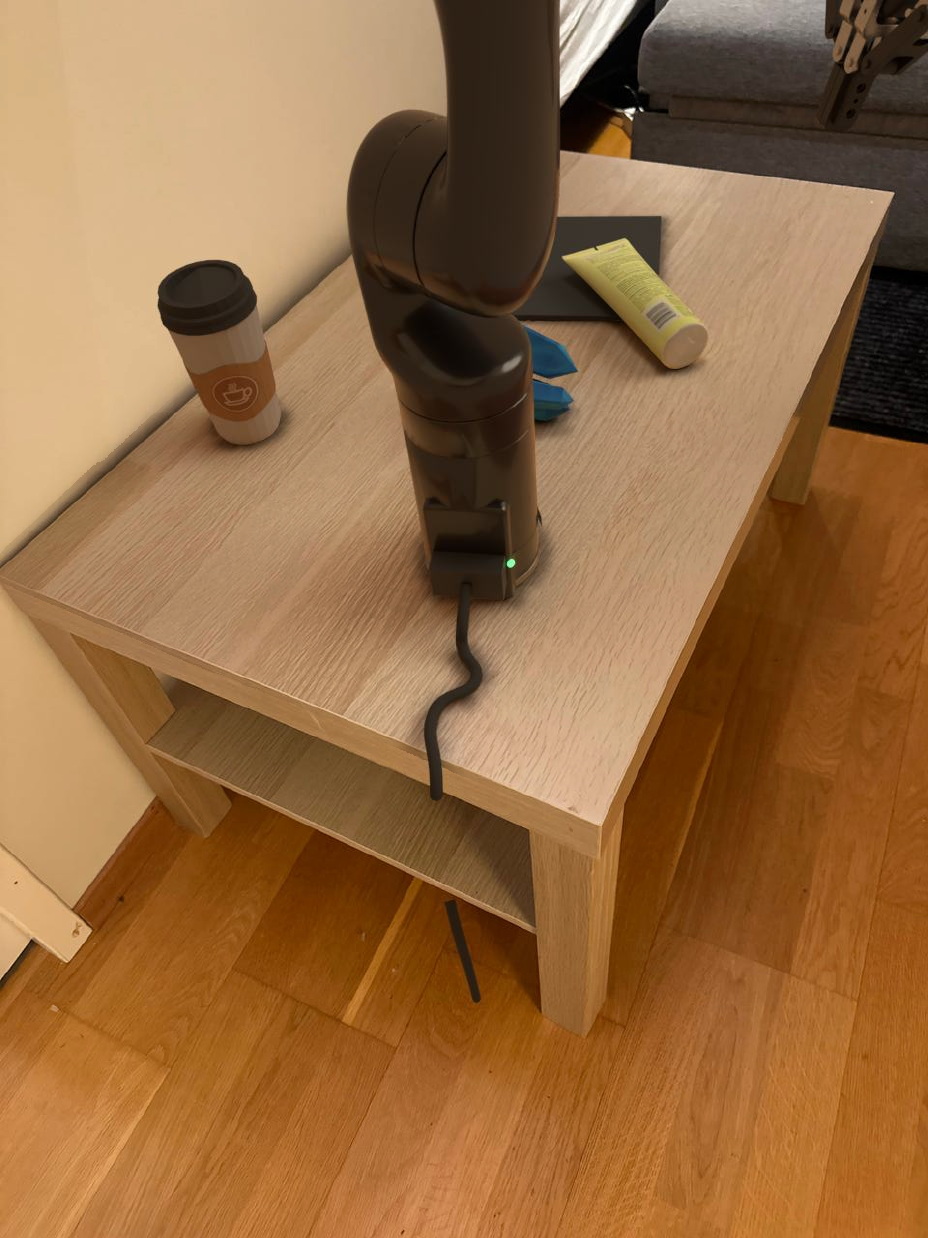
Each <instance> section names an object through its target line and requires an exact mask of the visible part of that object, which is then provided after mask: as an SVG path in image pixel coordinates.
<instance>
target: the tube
mask: <svg viewBox="0 0 928 1238" xmlns="http://www.w3.org/2000/svg"><path fill="white" fill-rule="evenodd" d="M562 259H563V260H564V261H565V262H566V263H567V264H568V265H569V266H570V267H571V268H572V269H573V270H574V271H575V272H577V273H578V274H579V275H580V276H581V277H582V278H583V279H584V280H585V281H586V282H587V283H588V284H589V285H590V286H591V287H592V288H593V289H594V290H595V291H596V292H597V293H598V294H599V295H600V296H601V298H602V299H603V300H604V301H605V302H606V303H607V304H608V305H609V306H610V307H611V308H612V309H613V310H614V311H615V312H616V313H617V314H618V315H619V316H620V317H621V318H622V319H623V321H622V322H624V323H625V324H626V325H627V326H628V327H629V328H630V329H631V330H632V331H633V333H634V334H636V336H637V337H638V338H639V339H640V341H642V342H643V343H644V344H645V346H647V348H648V349H649V350H650V351H651V352H652V353H653V355H654V356H655V357H657V359H658V360H659V361H660V362H661V363H662V364H663V365H664V366H665V367H667V368H669V369H673V370H677V369H682V368H686V367H687V366H689V365H691V364H692V363H694V362H695V361H696V360H697V359H698V358H699V357H700V356H701V355H702V354H703V353H704V351H705V349H706V348H707V344H708V342H709V330H708V328H707V327H706V326H705V324H704V323H703V322H702V321H701V320H700V319H699V318H698V317H697V316H696V314H695V313H693V312H692V311H691V309H689V307H688V306H687V305H686V304H685V303H684V302H683V301H682V300H681V299H680V298H679V297H678V296H677V295H676V293H674V292H673V290H672V289H671V288H670V287H669V286H668V285H667V284H666V283H665V282H664V281H663V280H662V279H661V278H660V276H659V277H658V275H657V274H656V273H655V272H654V271H653V270H652V269H651V268H650V266H649V265H648V264H647V263H646V262H645V261H644V259H643V258H642V257H641V256H640V255H639V254H638V252H637V251H636V250H635V249H634V248H633V246H632V245H631V244H630V242H629V241H628V240H627V239H626V238H623V239H620V240H617V241H614V242H610V243H607V244H604V245H601V246H597V247H594V248H590V249H587V250H584V251H580V252H577V253H574V254H570V255H567V256H562Z"/></svg>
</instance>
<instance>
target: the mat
mask: <svg viewBox="0 0 928 1238" xmlns="http://www.w3.org/2000/svg"><path fill="white" fill-rule="evenodd" d="M661 236H662V215H622V216H621V215H620V216H619V215H614V216H613V215H610V216H608V215H605V216H604V215H603V216H600V215H598V216H593V215H592V216H557V222H556V230H555V235H554V241H553V244H552V248H551V252H550V256H549V259H548V262H547V265H546V267H545V270H544V272H543V275H542V277H541V280H540V281H539V283H538V285H537V286H536V288H535V290H534V292H533V293H532V295H531V296H530V297H529V298H528V299H527V300H526V302H525V303H524V304H523V305H522V306H521V307H520V308H518V309H517V310H516V311H514V312H513V313H512V314H513V315H514V316H515V317H516V318H517V319H518V320H519V321H574V322H575V321H577V322H578V321H579V322H581V321H582V322H583V321H585V322H587V321H588V322H624V321H623V319H622V318H621V317H620V316H619V315H618V314H617V313H616V312H615V311H614V310H613V309H612V308H611V307H610V306H609V305H608V304H607V303H606V302H605V301H604V300H603V299H602V298H601V296H600V295H599V294H598V293H597V292H596V291H595V290H594V289H593V288H592V287H591V286H590V285H589V284H588V283H587V282H586V281H585V280H584V279H583V278H582V277H581V276H580V275H579V274H578V273H577V272H575V271H574V270H573V269H572V268H571V267H570V266H569V265H568V264H567V263H566V262H565V261H564V260H563V259H562V256H567V255H570V254H574V253H577V252H580V251H584V250H587V249H590V248H594V247H597V246H601V245H604V244H607V243H610V242H614V241H617V240H620V239H623V238H626V239H627V240H628V241H629V242H630V244H631V245H632V246H633V248H634V249H635V250H636V251H637V252H638V254H639V255H640V256H641V257H642V258H643V259H644V261H645V262H646V263H647V264H648V265H649V266H650V268H651V269H652V270H653V271H654V272H655V273H656V274H657V275H658V277H659V278H660V276H659V275H660V259H661V258H660V256H661Z"/></svg>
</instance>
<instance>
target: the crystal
mask: <svg viewBox="0 0 928 1238" xmlns="http://www.w3.org/2000/svg"><path fill="white" fill-rule="evenodd" d="M522 325H523V327H524V328H525V330H526V332H527V334H528V337H529V339H530V343H531V348H532V361H533V375H536V376H537V377H538V376H539V377H542V378H544V379H547V380H548V379H549V380H552V379H555V378H560V377H564V376H568V375H572V374H576V373H578V372H579V370H578V369H577V366H576V365H575V363H574V361H573V359H572V357H571V355H570V353H569V351H568V350H567V348H566V346H565V345H564V344H562V343H560V342H558V341H556V340H554V339H552V338H550V337H548V336H546V335H544V334H542V333H541V332H538V331H537V330H534V329H532V328H530V327H528V326H526V325H524V324H522ZM533 394H534V420H538V421H542V422H549V421H550V420H552V419H554V418H556V417H559V416H560V415H563V414H564V413H566V412H568V411H570V410H571V408H570V406H569V405H571V404H572V403H573V402H575V400H574V398H573V397H572V396H571V395H570V394H569V392H568V391H567V390H566V389H565V388H564V387H562V386H557V385H553V384H551V383H547V382H545V381H542V380H540V379H536V378H534V377H533Z"/></svg>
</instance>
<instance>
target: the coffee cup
mask: <svg viewBox="0 0 928 1238" xmlns="http://www.w3.org/2000/svg"><path fill="white" fill-rule="evenodd" d="M157 296H158V298H157V305H156V306H157V309H158V313H159V315H160V317H159V318H160V321H161V323H162V326H164V327H165V328H166V330H168V333H169V335H170V338H171V339H172V341H173V343H174V345H175V347H176V350H177V352H178V354H179V356H180V358H181V360H182V362H183V366H184V368H185V370H186V373H187V374H188V376H189V378H190V380H191V382H192V385H193V387H194V389H195V391H196V393H197V396H198V397H199V399H200V401H201V403H202V405H203V408H204V409H205V410H206V412H207V414H208V416H209V418H210V420H211V423H212V424H213V427H214V429H215V431H216V433H217V434H218V435H219V436H220V437H221V438H223V439H224V440H225V441H227V442H229V443H231V444H235V445H251V444H256V443H258V442H259V443H260V442H262V441H264V440H266V439H268V438H269V437H270V436H271V435H273V434H274V433H275V432H276V431H277V429H278V428H279V425H280V420H281V418H282V410H281V406H280V402H279V401H280V400H279V397H278V393H277V389H276V388H277V385H276V384H277V383H276V380H275V375H274V371H273V367H272V362H271V357H270V353H269V348H268V344H267V341H266V339H265V335H264V331H263V326H262V323H261V318H260V314H259V313H260V312H259V309H258V305H257V304H258V295H257V293H256V291H255V289H254V286H253V284H252V282H251V280H250V278H249V277H248V276H247V275H245V274H244V272H243V269H242V268H241V267H240V266H239V265H238V264H236V263H234V262H231V261H229V260H223V259H205V260H199V261H195V262H191V263H188V264H185V265H182V266H181V267H178V268H176V269H174V270H173V271H172V272H170V273H168V274H167V275H166V276H165V277H164V278H163V279H162V280H161V282H160V283H159V285H158V286H157Z"/></svg>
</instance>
